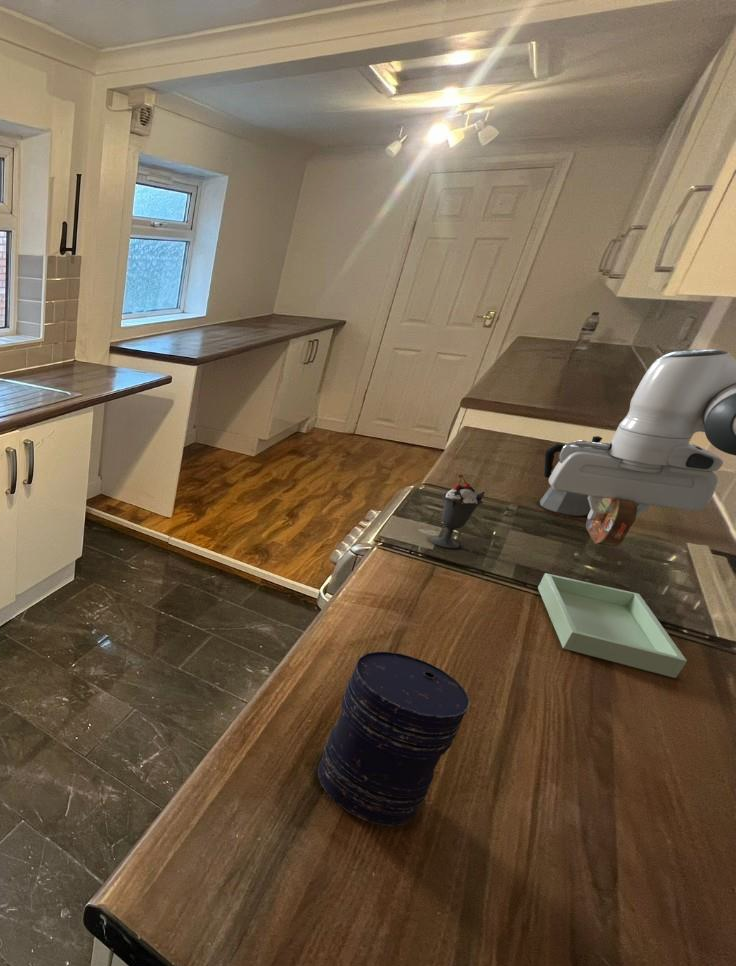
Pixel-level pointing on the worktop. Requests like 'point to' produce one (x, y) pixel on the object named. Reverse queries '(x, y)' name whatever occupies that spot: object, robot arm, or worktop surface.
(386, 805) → the navy ribbed drum
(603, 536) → the tin
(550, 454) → the coffeepot
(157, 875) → the worktop surface
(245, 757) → the worktop surface
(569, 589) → the tray
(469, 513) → the sundae
